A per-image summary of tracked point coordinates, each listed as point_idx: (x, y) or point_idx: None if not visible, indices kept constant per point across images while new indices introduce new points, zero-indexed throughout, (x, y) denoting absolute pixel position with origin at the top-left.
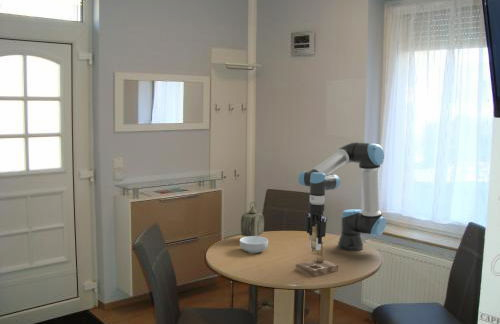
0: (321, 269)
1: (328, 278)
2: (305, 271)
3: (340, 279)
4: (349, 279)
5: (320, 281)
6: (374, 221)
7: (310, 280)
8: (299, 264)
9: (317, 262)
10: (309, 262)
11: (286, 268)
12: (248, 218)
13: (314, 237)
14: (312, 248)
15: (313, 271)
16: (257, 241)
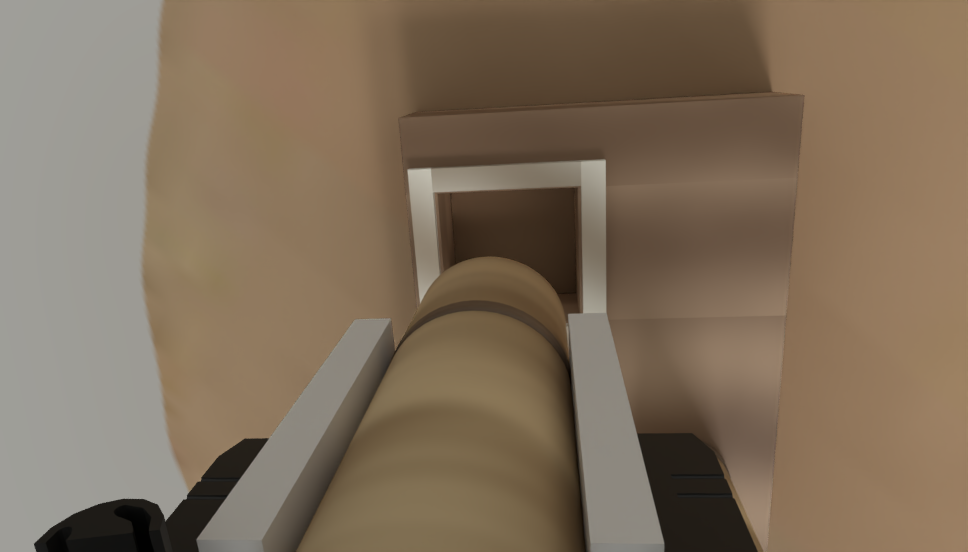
0: (416, 290)
1: (290, 257)
2: (553, 106)
3: (208, 349)
4: (173, 425)
5: (242, 102)
6: None
7: (325, 7)
8: (757, 147)
9: (666, 427)
10: (735, 337)
11: (911, 12)
12: None
13: (350, 504)
14: (482, 300)
15: (403, 139)
16: None
